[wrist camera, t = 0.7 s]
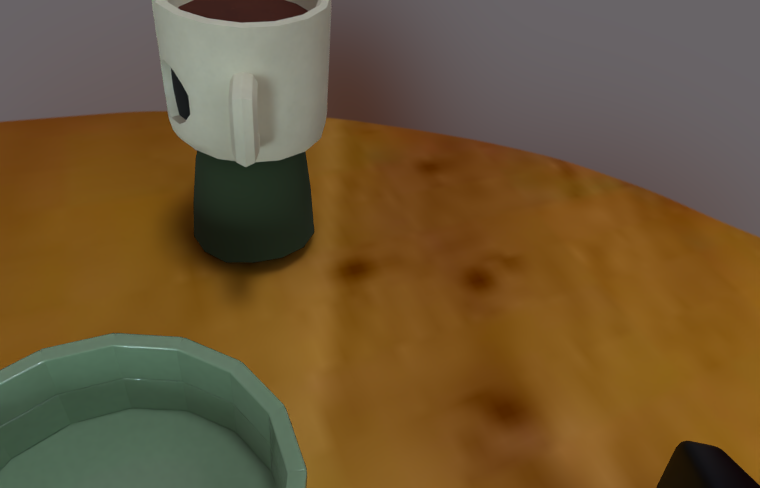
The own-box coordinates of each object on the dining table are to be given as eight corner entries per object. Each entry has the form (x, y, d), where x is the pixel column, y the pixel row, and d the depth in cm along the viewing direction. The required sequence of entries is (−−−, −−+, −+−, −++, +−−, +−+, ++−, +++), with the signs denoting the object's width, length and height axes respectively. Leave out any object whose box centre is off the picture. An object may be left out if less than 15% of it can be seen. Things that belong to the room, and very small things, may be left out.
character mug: (195, 173, 37) (166, -59, 29) (316, 173, 38) (323, -51, 30) (176, 312, 29) (127, 47, 21) (328, 306, 30) (343, 53, 22)
